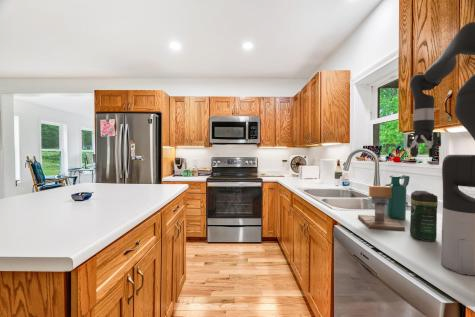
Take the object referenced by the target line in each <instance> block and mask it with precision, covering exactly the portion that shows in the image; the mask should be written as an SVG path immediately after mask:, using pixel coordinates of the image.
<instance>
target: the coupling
mask: <svg viewBox="0 0 475 317" xmlns="http://www.w3.org/2000/svg"><path fill="white" fill-rule="evenodd" d="M368 197H369V198H367V201H368V202H371V203H372V204H374V205H375V204H380V205H388V204H389V198H392V187H390V186H385V185H368Z"/></svg>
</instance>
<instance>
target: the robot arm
mask: <svg viewBox="0 0 475 317" xmlns="http://www.w3.org/2000/svg"><path fill="white" fill-rule="evenodd" d="M458 55H467V56H470V55H471V56H475V21H471V22H468V23H466V24H465V25H463V26H462V27H461V28H460V29H459V30H458V31H457V33H456V34H455V35H454V37H452V39H451V40H450V42H449V43H448V44H447V46H446V47H445V49H444V50H443V51H442V53H441V54H440V56H439V57H438V58H437V59H436V60H435V61H434V62H433V63H432V64H430V66H429V67H428V68H427V69H426V70H425V71H424V73H417V74H415V75H413V76H412V77H411V78H410V81H409V88H410V91H411V93H412V98H413V103H414V104H413V115H412V131H413V134H412V133H411V134H409V133H408V134H407V140H406V147H407V148H410V155H411V157H412V158H417V157H418V149H417V148H418V147H419V146H420V145H421V144H425V145H427V146H428V157H429V158H435V157H436V154H437V148H440V147H441V146H442V133H441V131H434V130H435V125H434V112H435V97H433V96H434V95H431V94H426V93H424V91H432V90H431V89H433V88H434V87H435V86H438V85H439V84H440V85H441V83H442V82H443V80H444V78H446V77H447V76H448V75H450V74H451V73H453V72H454V70H455V68H456V66H457V57H456V56H458ZM440 85H439V86H440ZM455 96H456V97H455V105H454V115H455V117H456V119H457V120H458V122H459V123H460V124H461V125H462V126H463V127H464V129H465V130H466V131H467V132H468V133H469V134H470V136H471V137H472V138H473V140H474V141H475V72H474V73H473V74H472V75H471V76H470V77H469V78H468V79H467V80H466V81H465V82H464V83H463V84H462V85H461V86H460V88H458V91H457V93H456V95H455ZM433 108H434V109H433ZM441 175H442V176H441V177H442V215H441V216H442V218H441V219H442V220H441V246H440V247H441V250H440V252H441V254H440V256H441V257H440V258H441V259H440V261H441V262H440V265H442V266H443V267H444V266H445V267H444V268H446V267H447V268H446V269H448V268H449V269H448V270H450V269H451V270H450V271H453V272H456V273H458V274H459V273H460V274H459V275H465V274H467V275H470V276H475V197H473V196H470V195H468V194H466V193H464V192H463V191H461V190H460V189H459V188H460V187H466V188H468V187H469V188H475V154H448V155H446V156H445V157H444V158H443V160H442V165H441ZM467 275H466V276H467Z"/></svg>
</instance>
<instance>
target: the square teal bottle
mask: <svg viewBox="0 0 475 317" xmlns="http://www.w3.org/2000/svg"><path fill="white" fill-rule="evenodd" d="M389 178H391V180H390V181H391V182H389V183H386V184H385V185H384V186H390V187H392V198H389V204H388V205H385V216H387V217H390V218H391V219H393V220H405V219H406V218H407V217H406V216H407V215H406V213H407V187H408V186H409V183H410V176H409V175H405V174H403V175H389ZM400 180H403V183H402V184H401V183H400Z"/></svg>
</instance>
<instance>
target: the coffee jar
mask: <svg viewBox="0 0 475 317" xmlns="http://www.w3.org/2000/svg"><path fill="white" fill-rule="evenodd" d="M438 204H439V200H438V196H437V195H436V194H434V193H431V192H428V191H426V190H415V191H412V192H411V193H410V218H409V219H410V223H409V234H410V235H411V236H412V237H413V238H415V239H418V240H421V241H424V242H432V241H434V242H435V241H437V231H438V230H437V226H438V225H437V224H438V223H437V222H438V221H437V220H438V217H437V216H438Z"/></svg>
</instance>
